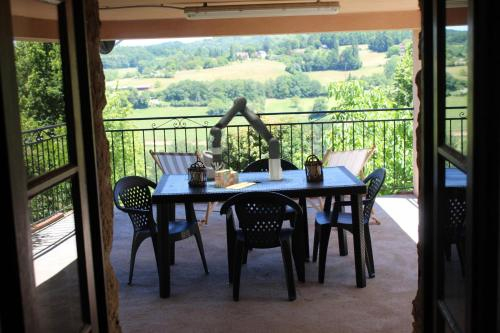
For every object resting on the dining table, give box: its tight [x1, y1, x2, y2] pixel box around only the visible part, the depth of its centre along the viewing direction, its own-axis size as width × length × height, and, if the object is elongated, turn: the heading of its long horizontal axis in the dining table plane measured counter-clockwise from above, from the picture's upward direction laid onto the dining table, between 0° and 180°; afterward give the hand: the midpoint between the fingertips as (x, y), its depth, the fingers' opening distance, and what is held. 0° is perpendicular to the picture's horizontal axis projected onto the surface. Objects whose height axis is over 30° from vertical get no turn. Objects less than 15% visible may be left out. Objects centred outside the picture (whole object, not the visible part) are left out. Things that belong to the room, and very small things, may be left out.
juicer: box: [189, 150, 216, 183], centre depth 567 cm, size 30×16×24 cm, turn 48°
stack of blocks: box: [214, 169, 240, 189], centre depth 536 cm, size 21×6×12 cm, turn 142°
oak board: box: [223, 181, 257, 190], centre depth 530 cm, size 14×26×1 cm, turn 151°
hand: (218, 175), depth 539 cm, fingers closed
